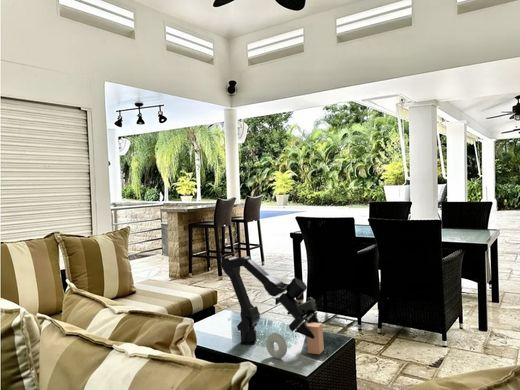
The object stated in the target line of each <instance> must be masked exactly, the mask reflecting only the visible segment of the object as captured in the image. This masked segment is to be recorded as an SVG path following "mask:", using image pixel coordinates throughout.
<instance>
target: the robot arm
mask: <svg viewBox="0 0 520 390" xmlns="http://www.w3.org/2000/svg"><path fill="white" fill-rule="evenodd" d="M220 266H221V268H222V270H223V272H224V274H225V275H227V277H228V278H229V279H230V282H231V285H232V288H233V290H234V293H235V295H236V299H237V300H238V301H237V302H238V304H239V307H240V320H241V321H239V323H238V324H237V325H236V328H237V330H238V331H240V343H239V344H240V345H255V344H256V342H257V340H258V337H257V336H258V335H257V330H256V327H257V325H258V323H259V322H260V318H261V316H260V315H261V313H260V311H259V308H258V305H253V304H252V303H251V300H250V297H249V296H248V292H247V290H246V286H245V285H244V281H243V278H242V276H241V267H243V268H245V270H247V271H248V272H249V273H250V274H251V275H252V276H253V277H255V278H256V280H257V281H259V282H260V283H261V284H262V285H263V287H264V289H265V291H266V292H267V293H268V295H269V296H271V297H275V298H274V299H275V302H274V303H275V305H276V306H277V305H279V304H281V305H282V306H283V308H284V309H285V311H287V312H286V314H287V315H288V316H290V315H291V316H292V318H293V320H292V322H290V324H288V327H289V330H290V331H291V332H295V333H298V334H301V335H303V336H306V337H307V336H308V337H310V338H312V339H314V338H315V336H314V335H313V333H312V332H311V331H310V329H309V328H308V327H307V325H308V324H309V323H311V322H314V323H320V321H319V319H318V308H317V304H316V299H314V298H313V297H311V296H310V297H307V298H306V301H305V302H302V301H297V299H299V298H300V297H301V295H303V294H304V292H305V291H306V290H307V289H308V288H307V287H308V286H307V284H306V283H305V282H304V281H302V280H301V279H298V278H297V277H293V278H292V279H291V280H290V283H285V282H284V281H282V280H280V279H279V278H277V277H275V276H271V275H270V274H269V273H268V272H266V270H265V269H263V268H262V267H261V266H260V265H259V264H257V263H256V262H255V261H254V260H253V259H252V257H250V256H249V255H247V256H240V257H238V256H235V255H231V256H228V257H225V258H223V259H222V260H221V262H220ZM277 296H278V297H277Z"/></svg>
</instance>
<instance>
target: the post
mask: <svg viewBox="0 0 520 390" xmlns="http://www.w3.org/2000/svg"><path fill="white" fill-rule="evenodd" d="M307 327H308V328H309V329H310V331H311V332H312V333H313V335H314V336H315V338H314V339H312V338H310V337H308V336H306V339H307V340H306V342H307V354H315V355H321V354H322V353H323V352H324V350H325V347H324V344H325V343H324V331H323V330H324V329H323V322H322V323H321V322H319V323H314V322H311V323H307Z"/></svg>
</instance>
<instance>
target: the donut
mask: <svg viewBox="0 0 520 390" xmlns="http://www.w3.org/2000/svg"><path fill="white" fill-rule="evenodd" d="M284 338H285V337H283V336H282V335H281V334H279V333H277V332H272V333H270V334H269V335H268V336H267V338H266V340H265V347H266V350H267V353H268V354H269V355H270V356H271V357H272V358H273V359H279V360H281V359H282V358H284V357H285V356H286V354H287V351H288V346H287V342H286V340H285V339H284ZM275 343H276V344H277V346H278V349H277V348H276V346H275Z"/></svg>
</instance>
